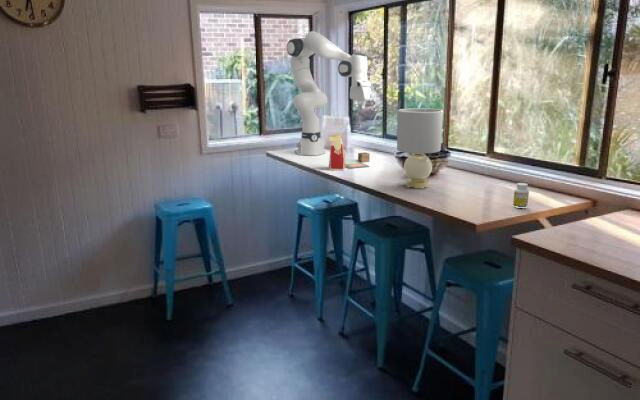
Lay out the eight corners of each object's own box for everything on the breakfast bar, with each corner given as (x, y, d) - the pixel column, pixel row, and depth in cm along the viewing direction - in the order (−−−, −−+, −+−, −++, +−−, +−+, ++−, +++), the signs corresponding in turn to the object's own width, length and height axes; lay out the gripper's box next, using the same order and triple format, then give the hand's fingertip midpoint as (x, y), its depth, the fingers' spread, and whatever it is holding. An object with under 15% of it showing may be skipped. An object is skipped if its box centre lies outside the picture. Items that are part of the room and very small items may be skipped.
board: (338, 163, 293) (338, 162, 293) (357, 162, 297) (357, 160, 297) (349, 168, 279) (349, 167, 279) (369, 167, 283) (369, 165, 283)
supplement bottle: (524, 210, 198) (526, 186, 196) (510, 207, 202) (513, 184, 199) (529, 207, 202) (531, 183, 200) (515, 204, 206) (517, 181, 203)
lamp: (393, 180, 249) (395, 108, 240) (434, 180, 248) (438, 108, 239) (398, 190, 230) (400, 112, 221) (442, 190, 229) (447, 112, 220)
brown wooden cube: (358, 161, 300) (358, 152, 299) (365, 160, 302) (365, 152, 301) (361, 162, 296) (361, 154, 294) (369, 162, 298) (369, 153, 296)
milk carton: (345, 167, 283) (345, 131, 278) (344, 170, 274) (344, 133, 269) (329, 167, 284) (328, 131, 279) (327, 170, 275) (327, 133, 270)
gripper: (347, 82, 293) (347, 106, 297) (362, 83, 275) (362, 109, 278) (356, 82, 295) (356, 106, 299) (372, 83, 277) (372, 109, 280)
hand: (359, 107), depth 288 cm, fingers open, 8 cm apart
